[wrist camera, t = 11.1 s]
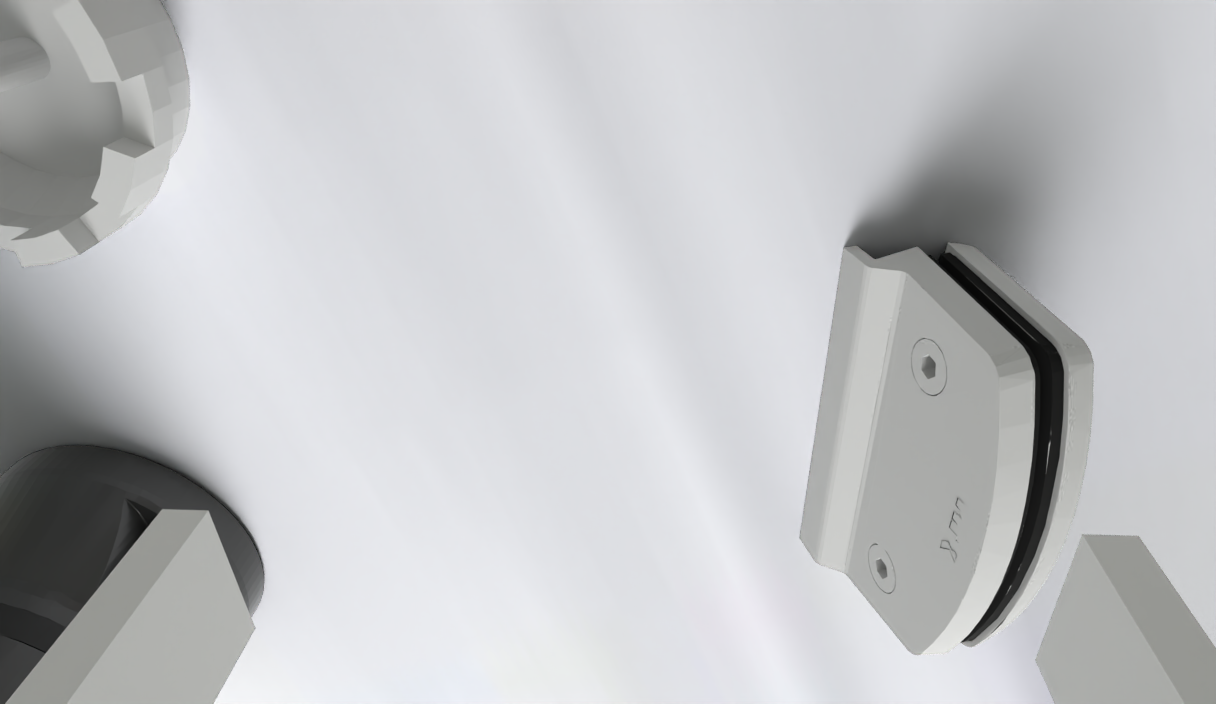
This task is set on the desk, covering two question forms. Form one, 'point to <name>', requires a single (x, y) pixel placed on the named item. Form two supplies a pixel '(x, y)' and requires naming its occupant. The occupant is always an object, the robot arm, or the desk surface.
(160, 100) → the flag stand
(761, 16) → the desk surface
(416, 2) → the desk surface
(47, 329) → the desk surface
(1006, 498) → the hinge
